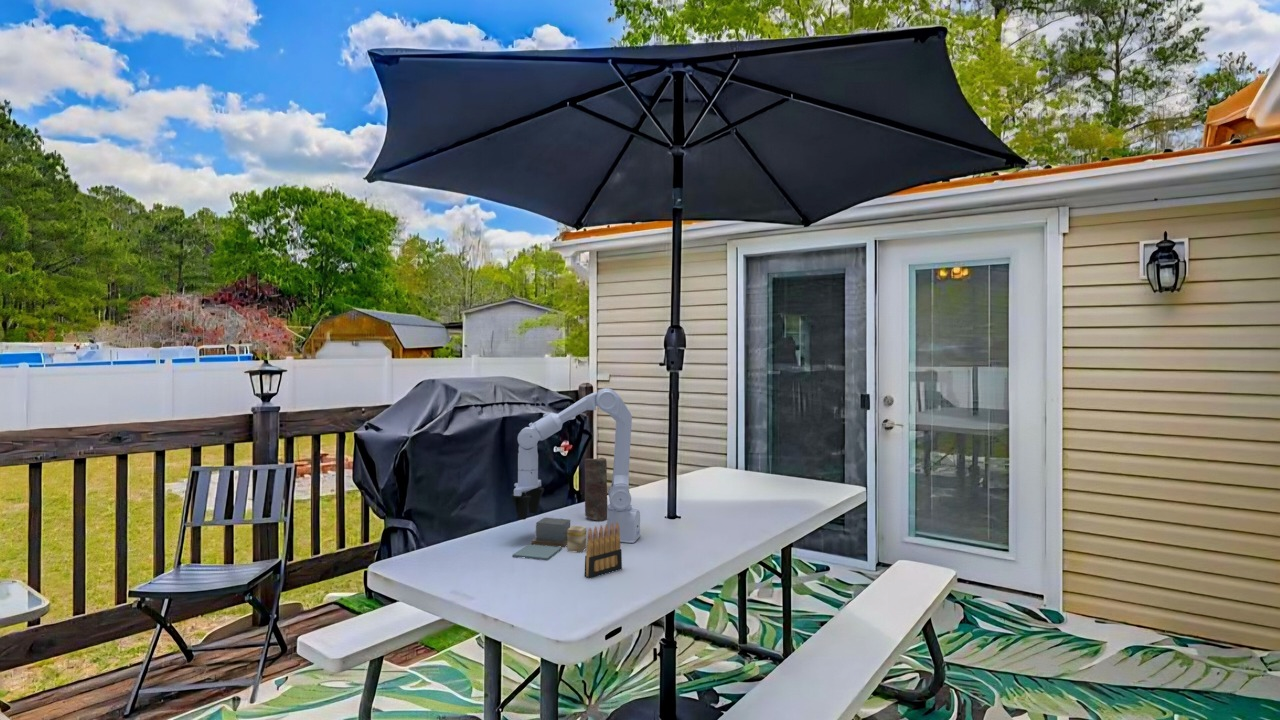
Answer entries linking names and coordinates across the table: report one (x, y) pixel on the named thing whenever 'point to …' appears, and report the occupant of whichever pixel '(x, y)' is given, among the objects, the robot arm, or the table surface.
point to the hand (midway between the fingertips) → (527, 515)
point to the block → (576, 538)
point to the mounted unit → (551, 532)
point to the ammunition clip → (603, 551)
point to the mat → (537, 552)
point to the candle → (596, 489)
